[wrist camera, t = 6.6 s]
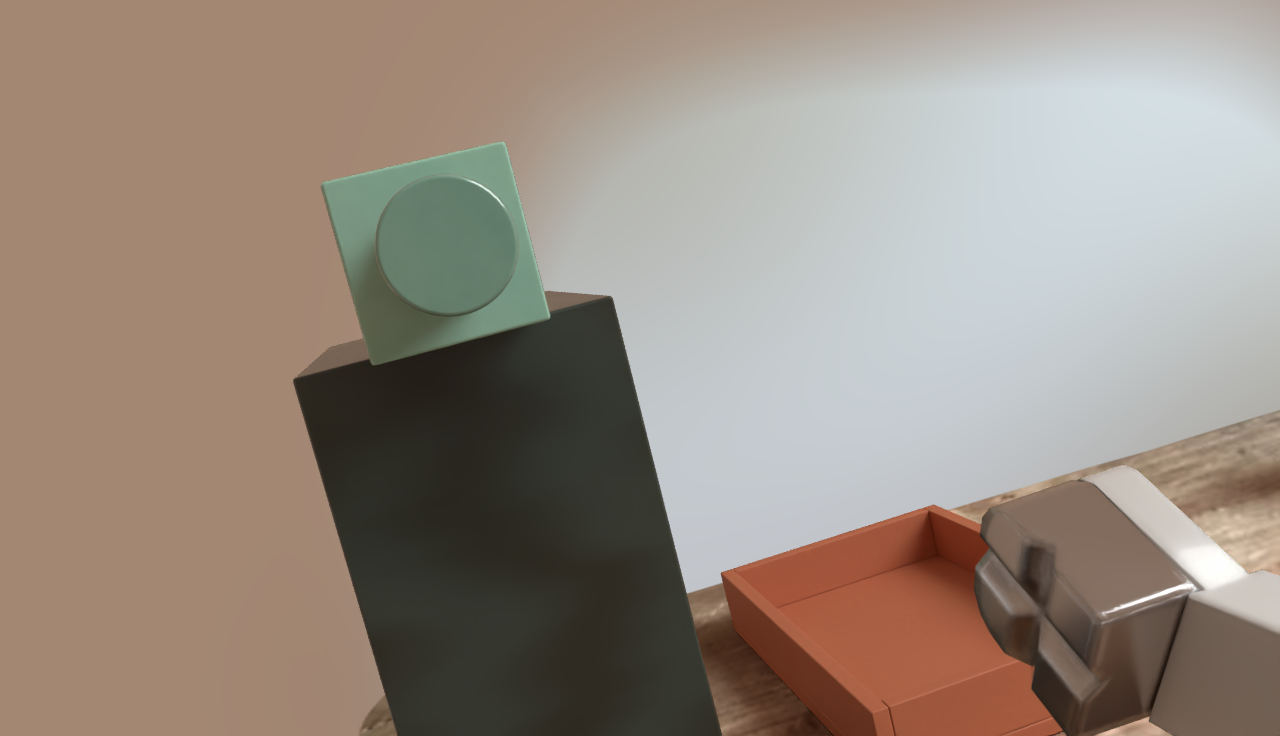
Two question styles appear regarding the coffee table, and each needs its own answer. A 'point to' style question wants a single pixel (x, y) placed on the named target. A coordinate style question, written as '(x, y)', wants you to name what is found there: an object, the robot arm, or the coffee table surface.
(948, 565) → the tray
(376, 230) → the bottle
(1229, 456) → the coffee table surface
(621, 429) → the stand
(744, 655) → the coffee table surface
